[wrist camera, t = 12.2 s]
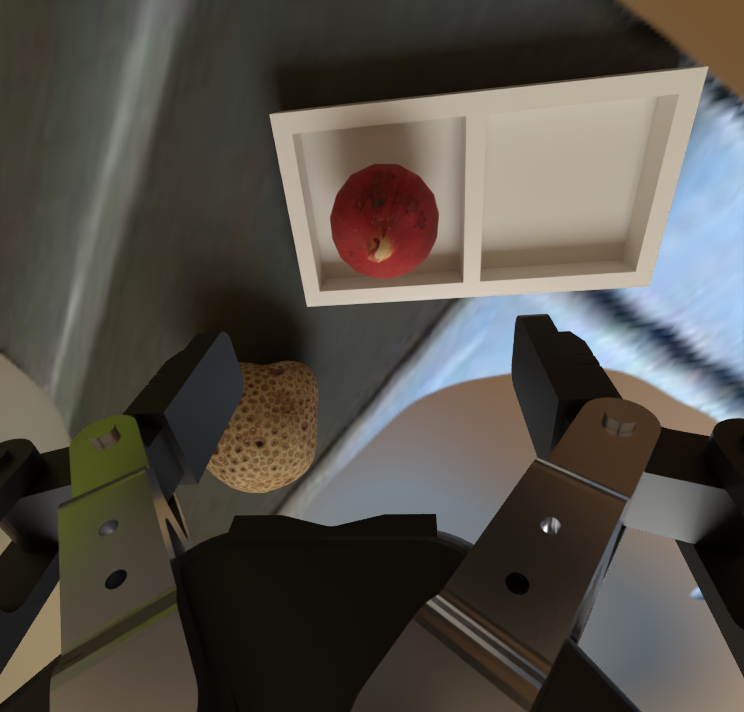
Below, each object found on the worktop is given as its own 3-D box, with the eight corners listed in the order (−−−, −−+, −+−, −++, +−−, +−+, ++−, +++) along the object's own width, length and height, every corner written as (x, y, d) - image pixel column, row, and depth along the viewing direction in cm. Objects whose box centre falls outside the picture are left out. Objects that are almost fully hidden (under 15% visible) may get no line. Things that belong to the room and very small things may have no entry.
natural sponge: (215, 406, 37) (159, 503, 28) (223, 317, 32) (159, 402, 24) (319, 431, 38) (294, 533, 29) (342, 349, 33) (320, 442, 25)
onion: (336, 153, 25) (312, 182, 18) (437, 153, 25) (450, 181, 18) (342, 251, 28) (322, 307, 21) (431, 252, 28) (440, 308, 21)
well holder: (281, 110, 24) (269, 114, 22) (678, 67, 22) (708, 66, 20) (314, 290, 30) (307, 306, 28) (630, 270, 28) (649, 286, 26)
